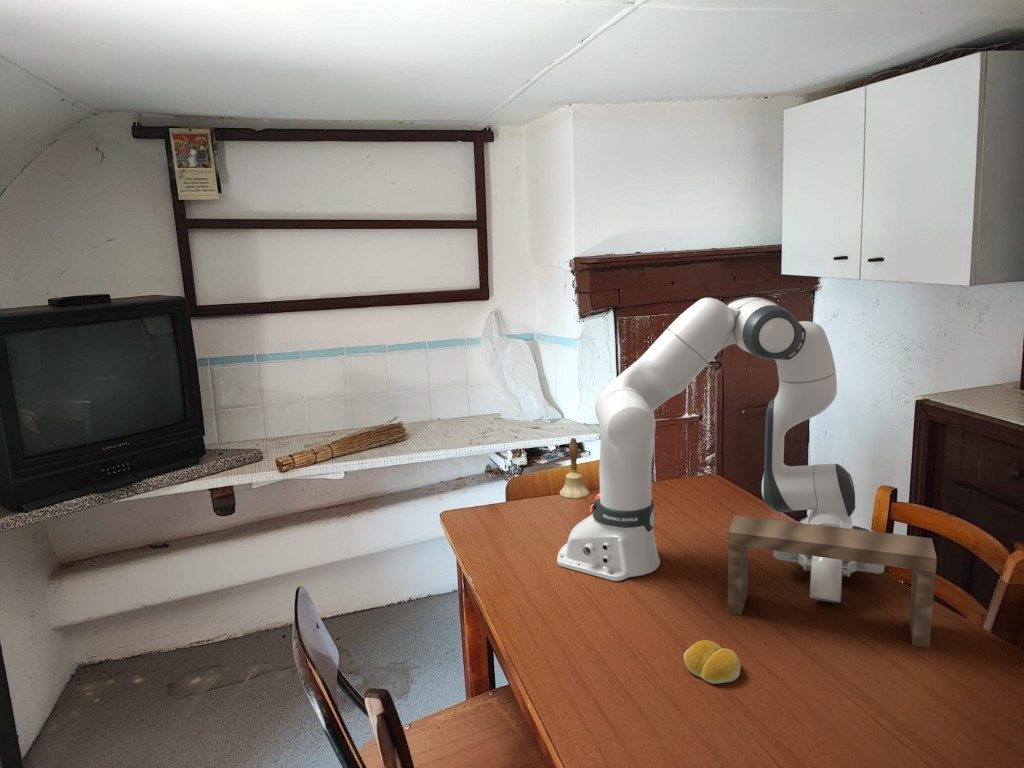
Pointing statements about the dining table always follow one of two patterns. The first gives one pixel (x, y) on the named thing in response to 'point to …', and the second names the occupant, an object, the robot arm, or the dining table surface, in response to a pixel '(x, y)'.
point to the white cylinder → (826, 579)
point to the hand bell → (574, 476)
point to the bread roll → (712, 662)
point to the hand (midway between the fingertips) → (826, 569)
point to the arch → (837, 546)
